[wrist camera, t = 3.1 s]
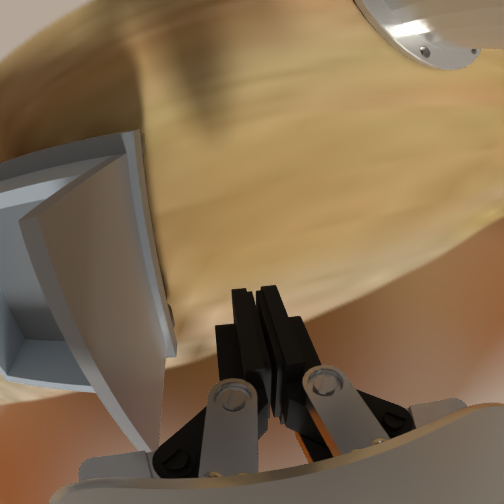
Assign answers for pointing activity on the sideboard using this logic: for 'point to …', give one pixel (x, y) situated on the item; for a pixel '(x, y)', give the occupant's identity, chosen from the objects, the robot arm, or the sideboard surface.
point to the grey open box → (85, 279)
